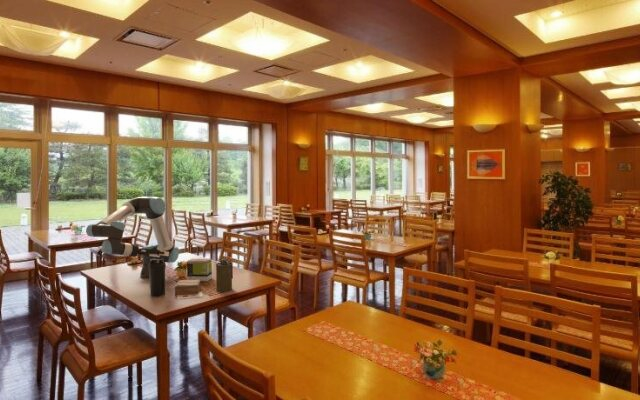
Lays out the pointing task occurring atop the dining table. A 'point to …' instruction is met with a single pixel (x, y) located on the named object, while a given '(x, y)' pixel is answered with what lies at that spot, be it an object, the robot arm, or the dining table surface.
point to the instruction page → (189, 296)
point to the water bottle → (157, 277)
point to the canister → (224, 276)
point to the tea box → (199, 269)
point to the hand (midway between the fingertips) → (164, 254)
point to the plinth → (187, 287)
